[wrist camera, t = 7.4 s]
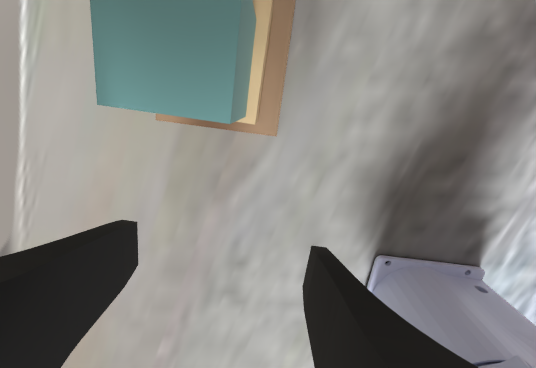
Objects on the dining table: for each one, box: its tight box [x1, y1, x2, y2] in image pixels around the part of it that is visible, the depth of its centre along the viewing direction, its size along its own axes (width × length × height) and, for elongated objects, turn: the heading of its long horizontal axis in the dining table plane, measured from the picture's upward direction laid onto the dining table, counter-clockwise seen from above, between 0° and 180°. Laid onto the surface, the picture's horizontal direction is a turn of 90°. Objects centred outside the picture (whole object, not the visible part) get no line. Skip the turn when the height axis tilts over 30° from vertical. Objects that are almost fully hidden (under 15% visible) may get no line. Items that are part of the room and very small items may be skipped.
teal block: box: [90, 0, 256, 124], centre depth 10 cm, size 4×4×5 cm
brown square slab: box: [156, 0, 296, 136], centre depth 17 cm, size 8×8×3 cm
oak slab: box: [236, 0, 273, 125], centre depth 14 cm, size 6×6×3 cm
